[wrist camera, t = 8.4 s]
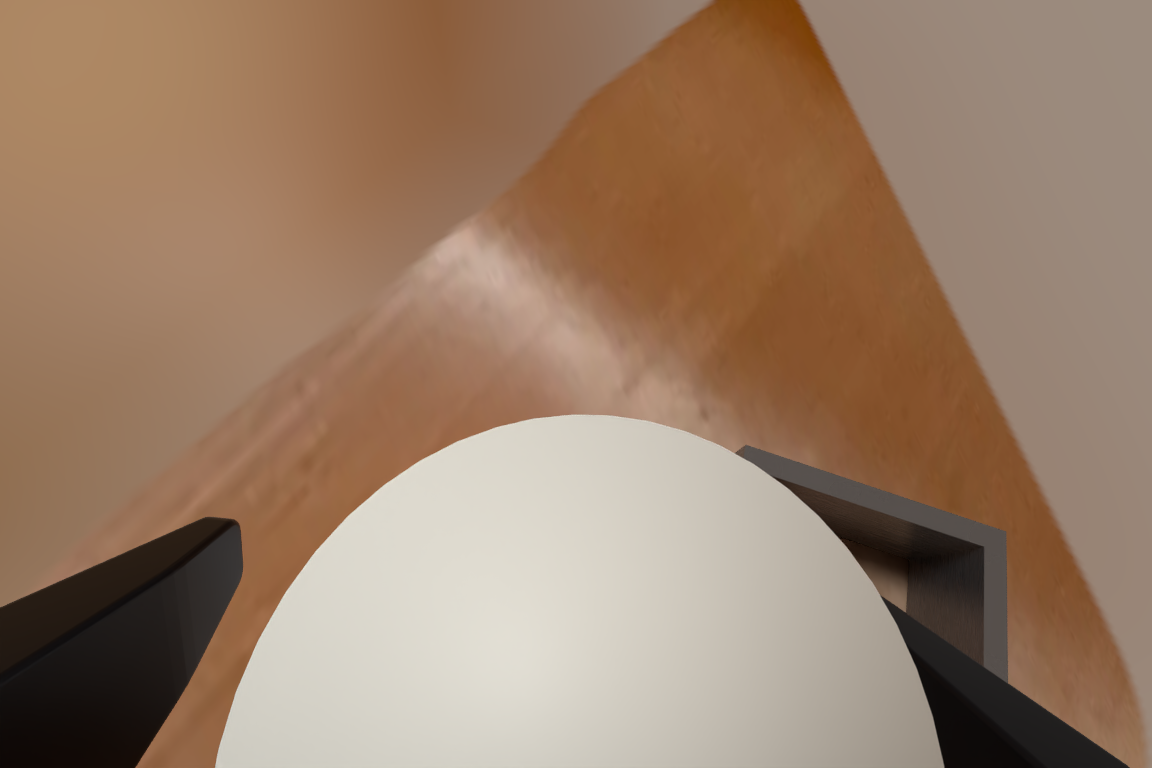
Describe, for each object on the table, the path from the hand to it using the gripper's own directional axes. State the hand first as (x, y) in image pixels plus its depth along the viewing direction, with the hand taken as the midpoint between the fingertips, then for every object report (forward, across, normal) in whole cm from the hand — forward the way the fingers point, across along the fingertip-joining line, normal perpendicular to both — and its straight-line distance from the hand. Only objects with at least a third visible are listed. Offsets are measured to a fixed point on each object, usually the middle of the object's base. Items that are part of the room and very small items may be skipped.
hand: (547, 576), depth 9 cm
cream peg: (+4, 0, +6) cm, 8 cm away
